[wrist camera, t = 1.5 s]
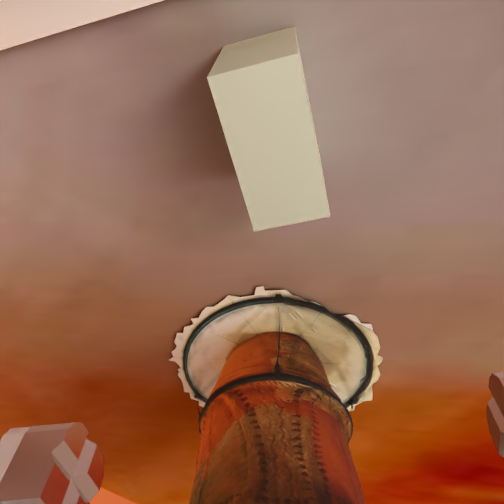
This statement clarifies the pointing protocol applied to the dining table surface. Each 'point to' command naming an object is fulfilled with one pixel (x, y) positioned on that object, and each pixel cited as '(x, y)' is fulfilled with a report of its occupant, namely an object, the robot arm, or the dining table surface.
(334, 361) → the decorative vase
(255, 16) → the dining table surface
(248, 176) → the key block
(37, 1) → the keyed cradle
